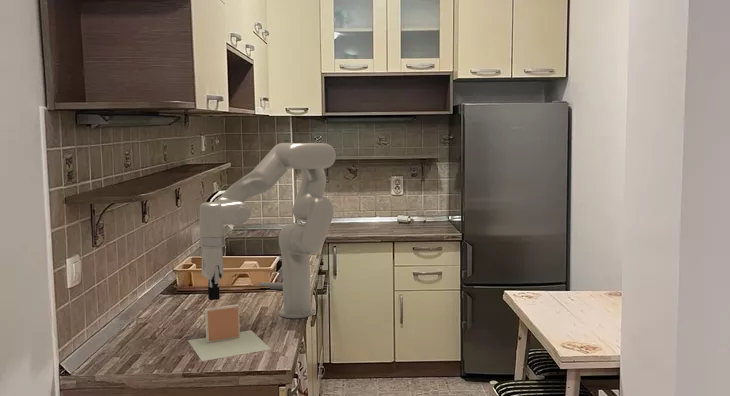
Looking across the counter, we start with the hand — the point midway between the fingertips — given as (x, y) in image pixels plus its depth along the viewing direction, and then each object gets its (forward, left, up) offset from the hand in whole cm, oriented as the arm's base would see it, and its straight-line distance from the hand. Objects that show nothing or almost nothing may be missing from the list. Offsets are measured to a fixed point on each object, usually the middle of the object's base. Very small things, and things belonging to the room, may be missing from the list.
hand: (213, 299), depth 207 cm
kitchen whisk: (-38, +40, -12) cm, 56 cm away
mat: (+14, +1, -11) cm, 18 cm away
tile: (+8, +1, -11) cm, 13 cm away
